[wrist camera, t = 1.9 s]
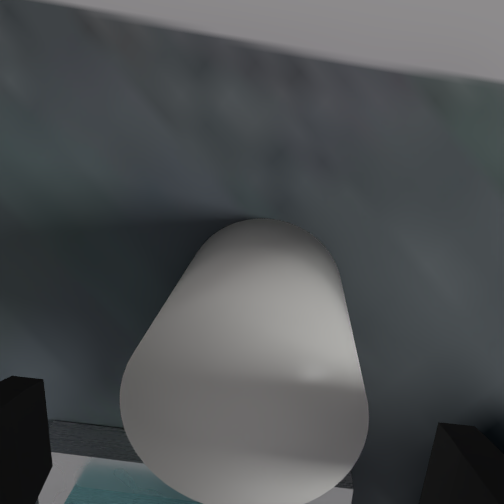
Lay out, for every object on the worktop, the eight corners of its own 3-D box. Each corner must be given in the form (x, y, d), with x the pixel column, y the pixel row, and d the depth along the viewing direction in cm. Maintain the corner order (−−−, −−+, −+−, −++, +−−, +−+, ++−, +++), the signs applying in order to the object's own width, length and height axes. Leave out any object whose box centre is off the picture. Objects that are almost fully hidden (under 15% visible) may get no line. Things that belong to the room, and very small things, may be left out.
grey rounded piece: (352, 225, 14) (388, 318, 8) (326, 410, 16) (341, 582, 10) (187, 212, 14) (114, 291, 9) (185, 394, 16) (125, 552, 11)
